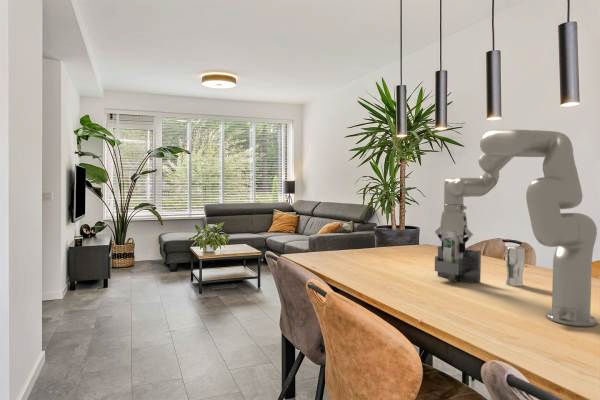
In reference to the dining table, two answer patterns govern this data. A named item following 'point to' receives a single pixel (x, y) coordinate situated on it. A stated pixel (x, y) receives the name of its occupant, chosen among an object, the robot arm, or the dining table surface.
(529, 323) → the dining table surface
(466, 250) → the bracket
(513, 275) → the beer glass
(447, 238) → the syrup box
